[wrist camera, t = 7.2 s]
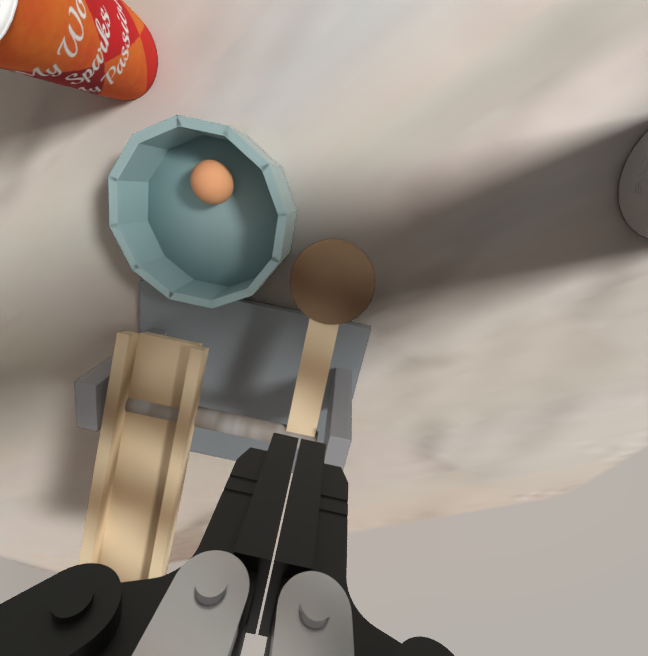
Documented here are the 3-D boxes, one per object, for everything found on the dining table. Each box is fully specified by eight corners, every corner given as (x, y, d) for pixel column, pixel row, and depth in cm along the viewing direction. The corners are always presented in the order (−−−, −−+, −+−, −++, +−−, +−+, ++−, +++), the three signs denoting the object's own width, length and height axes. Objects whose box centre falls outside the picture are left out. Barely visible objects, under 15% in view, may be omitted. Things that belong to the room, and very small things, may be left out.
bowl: (307, 148, 27) (298, 140, 22) (282, 302, 31) (271, 321, 27) (145, 114, 27) (106, 99, 22) (143, 273, 31) (110, 286, 27)
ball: (235, 210, 28) (241, 169, 27) (223, 206, 25) (229, 160, 24) (197, 202, 28) (202, 160, 27) (180, 197, 25) (185, 150, 24)
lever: (158, 204, 25) (128, 187, 21) (380, 251, 25) (389, 242, 21) (88, 608, 27) (51, 656, 23) (292, 651, 27) (286, 706, 23)
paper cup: (138, 141, 27) (-55, 97, 14) (48, 63, 26) (-256, -63, 13) (194, 45, 25) (23, -113, 12) (98, -47, 24) (-215, -339, 11)
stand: (144, 277, 31) (52, 317, 22) (370, 326, 31) (378, 386, 22) (142, 435, 38) (69, 520, 28) (331, 475, 38) (323, 574, 28)
